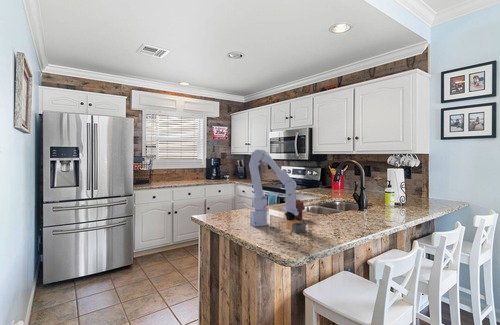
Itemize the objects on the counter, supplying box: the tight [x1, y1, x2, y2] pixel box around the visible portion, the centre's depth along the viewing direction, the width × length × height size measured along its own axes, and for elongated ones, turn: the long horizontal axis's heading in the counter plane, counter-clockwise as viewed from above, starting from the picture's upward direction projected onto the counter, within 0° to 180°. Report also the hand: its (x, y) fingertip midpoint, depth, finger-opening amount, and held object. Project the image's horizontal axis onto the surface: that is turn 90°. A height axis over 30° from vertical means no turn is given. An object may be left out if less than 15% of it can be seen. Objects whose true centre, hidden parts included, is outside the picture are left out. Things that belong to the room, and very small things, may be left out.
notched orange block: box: [286, 219, 303, 232], centre depth 150 cm, size 6×6×4 cm
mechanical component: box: [294, 199, 306, 221], centre depth 173 cm, size 12×10×10 cm
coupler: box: [292, 221, 307, 234], centre depth 147 cm, size 6×10×5 cm, turn 19°
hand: (290, 225), depth 154 cm, fingers closed
